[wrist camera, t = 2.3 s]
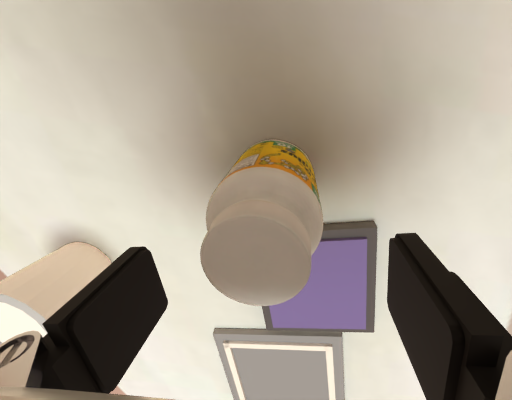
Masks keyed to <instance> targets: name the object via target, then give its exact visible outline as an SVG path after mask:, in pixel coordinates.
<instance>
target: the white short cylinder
mask: <svg viewBox="0 0 512 400" xmlns="http://www.w3.org/2000/svg"><path fill="white" fill-rule="evenodd" d="M110 264H111V261H110V260H109V258H108V257H107V256H106V255H105V254H104V253H103V252H102V251H100V250H99V249H98V248H96V247H94V246H92V245H90V244H87V243H82V242H73V243H69V244H66V245H65V246H63V247H61V248H59V249H57V250H56V251H54V252H52V253H50V254H48V255H47V256H45V257H43V258H41V259H39V260H38V261H36V262H34V263H32V264H30V265H29V266H27V267H25V268H23V269H21V270H19V271H18V272H16V273H14V274H12V275H10V276H9V277H7V278H5V279H3V280H1V281H0V344H2V343H4V342H5V341H7V340H8V339H10V338H12V337H14V336H16V335H19V334H21V333H24V332H28V331H38V332H39V333H40V334H41V335H42V337H44V336H45V335H46V334H47V331H46V330H45V328H44V326H43V325H42V324H43V323H44V322H45V321H46V320H47V319H48V318H49V317H51V316H52V315H53V314H54V313H55V312H56V311H58V310H59V309H60V308H61V307H62V306H63V305H64V304H66V303H67V302H68V301H69V300H70V299H71V298H72V297H74V296H75V295H76V294H77V293H78V292H79V291H80V290H82V289H83V288H84V287H85V286H86V285H87V284H88V283H90V282H91V281H92V280H93V279H94V278H95V277H97V276H98V275H99V274H100V273H101V272H102V271H103V270H105V269H106V268H107V267H108V266H109V265H110Z"/></svg>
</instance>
